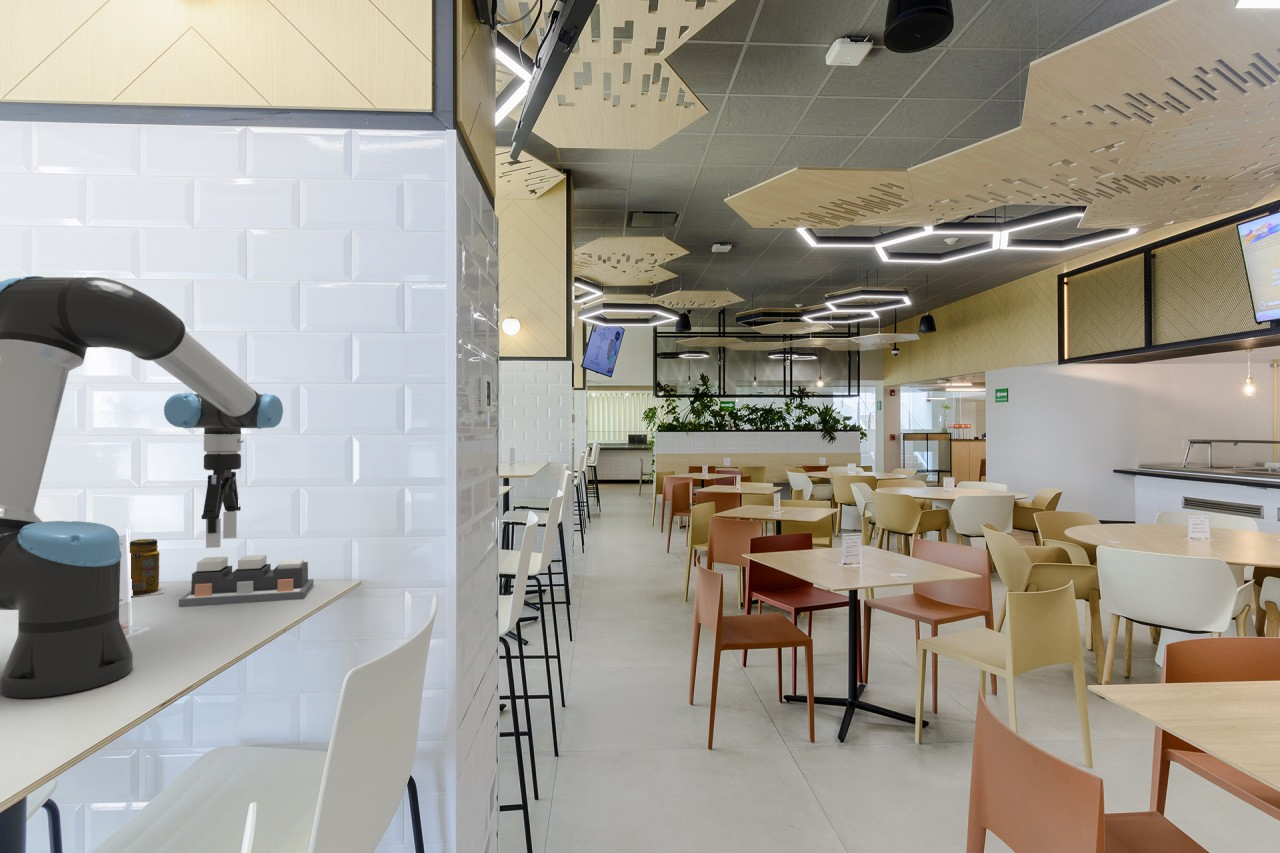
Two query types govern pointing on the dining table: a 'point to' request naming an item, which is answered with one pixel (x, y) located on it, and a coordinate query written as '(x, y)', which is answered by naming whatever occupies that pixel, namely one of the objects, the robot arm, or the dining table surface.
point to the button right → (291, 564)
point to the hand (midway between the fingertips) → (221, 542)
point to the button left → (212, 563)
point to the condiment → (145, 567)
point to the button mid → (252, 562)
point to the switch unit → (247, 585)
